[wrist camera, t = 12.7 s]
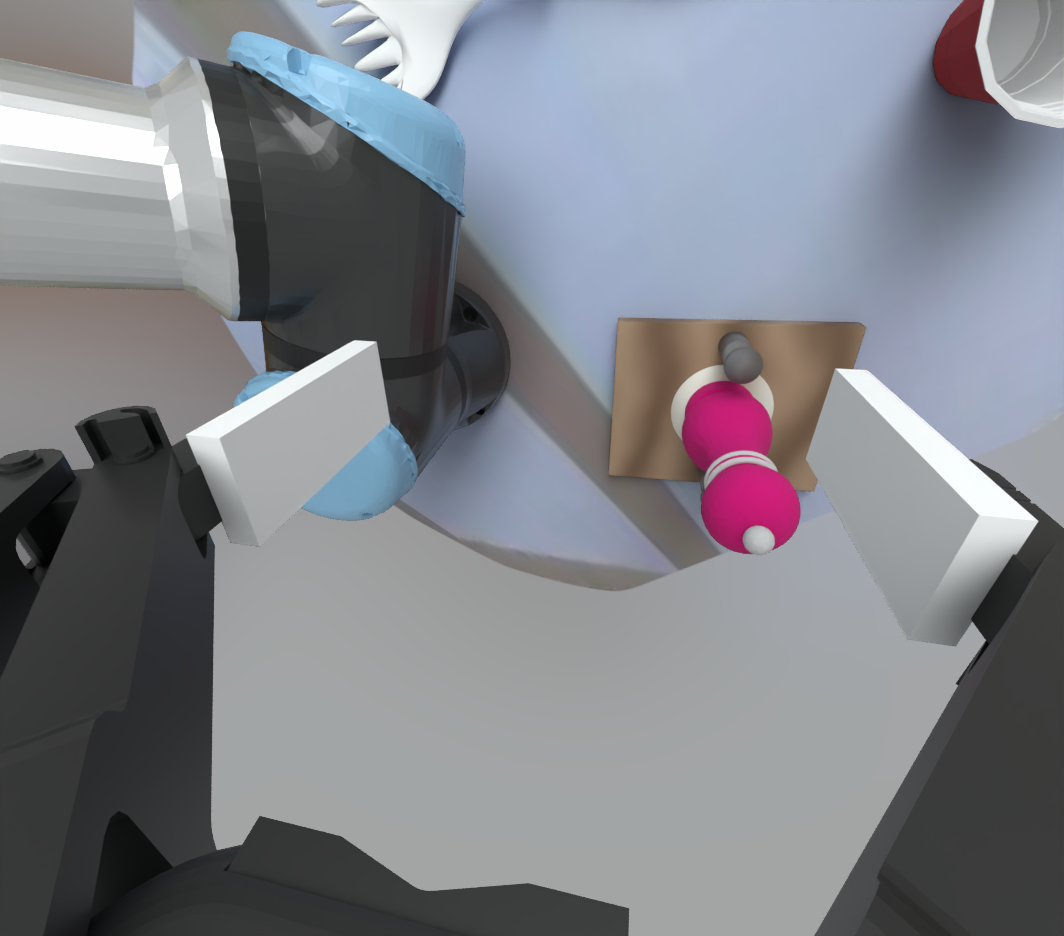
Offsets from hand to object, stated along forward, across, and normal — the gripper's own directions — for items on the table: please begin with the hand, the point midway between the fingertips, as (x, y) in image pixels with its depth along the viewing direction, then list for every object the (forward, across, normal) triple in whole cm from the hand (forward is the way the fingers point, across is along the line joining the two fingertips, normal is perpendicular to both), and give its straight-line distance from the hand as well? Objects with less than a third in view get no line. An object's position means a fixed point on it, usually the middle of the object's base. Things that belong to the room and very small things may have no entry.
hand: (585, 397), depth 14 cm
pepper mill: (+31, +10, -13) cm, 35 cm away
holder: (+33, +10, -13) cm, 37 cm away
